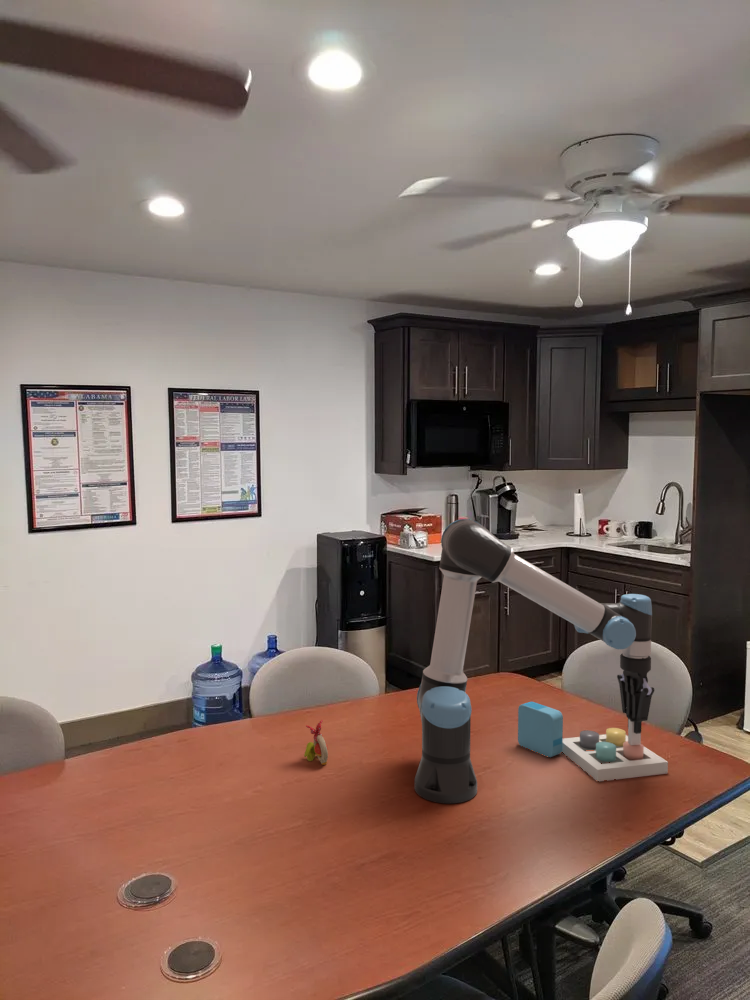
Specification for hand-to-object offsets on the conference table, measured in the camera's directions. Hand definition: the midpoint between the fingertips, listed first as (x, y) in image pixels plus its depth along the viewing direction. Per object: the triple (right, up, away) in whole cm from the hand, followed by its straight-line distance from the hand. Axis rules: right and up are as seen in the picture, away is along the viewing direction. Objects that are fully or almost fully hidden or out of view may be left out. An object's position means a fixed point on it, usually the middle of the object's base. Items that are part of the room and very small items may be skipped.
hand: (634, 743), depth 185 cm
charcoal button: (-10, -3, +6) cm, 12 cm away
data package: (-22, -6, +10) cm, 25 cm away
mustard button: (-2, -2, +8) cm, 9 cm away
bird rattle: (-82, -6, +3) cm, 82 cm away
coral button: (0, -3, 0) cm, 4 cm away
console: (-5, -6, +3) cm, 8 cm away
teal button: (-8, -3, -2) cm, 9 cm away
